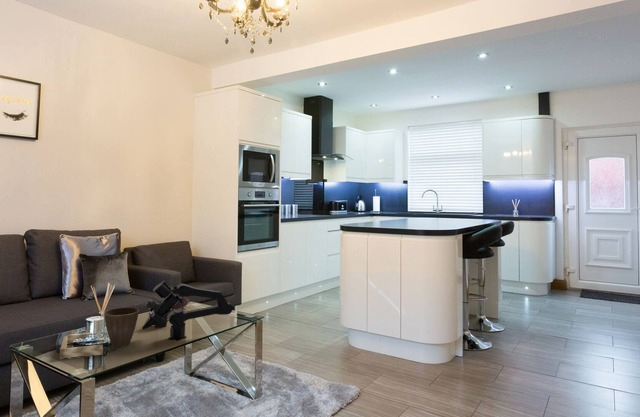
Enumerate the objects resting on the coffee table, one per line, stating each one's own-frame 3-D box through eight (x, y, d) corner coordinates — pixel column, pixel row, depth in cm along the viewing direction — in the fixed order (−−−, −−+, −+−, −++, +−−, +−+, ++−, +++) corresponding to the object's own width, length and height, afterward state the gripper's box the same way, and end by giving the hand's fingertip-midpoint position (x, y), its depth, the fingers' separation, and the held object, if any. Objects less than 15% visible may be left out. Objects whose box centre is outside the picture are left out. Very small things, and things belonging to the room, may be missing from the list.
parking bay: (102, 339, 198) (102, 331, 198) (102, 354, 179) (102, 345, 179) (64, 343, 190) (64, 335, 191) (59, 359, 171) (60, 350, 171)
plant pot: (114, 352, 182) (116, 316, 182) (96, 345, 189) (97, 311, 190) (144, 343, 194) (145, 310, 195) (125, 337, 202) (126, 305, 202)
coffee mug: (148, 326, 222) (149, 308, 222) (161, 323, 230) (162, 305, 230) (163, 330, 217) (164, 311, 217) (175, 326, 224) (176, 308, 224)
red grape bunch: (183, 306, 270) (184, 291, 270) (194, 308, 266) (195, 293, 266) (162, 311, 254) (163, 296, 254) (174, 314, 250) (175, 298, 250)
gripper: (153, 290, 207) (129, 313, 202) (158, 297, 191) (131, 323, 186) (169, 304, 211) (145, 327, 206) (174, 312, 195) (149, 338, 189)
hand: (142, 328), depth 197 cm, fingers closed
